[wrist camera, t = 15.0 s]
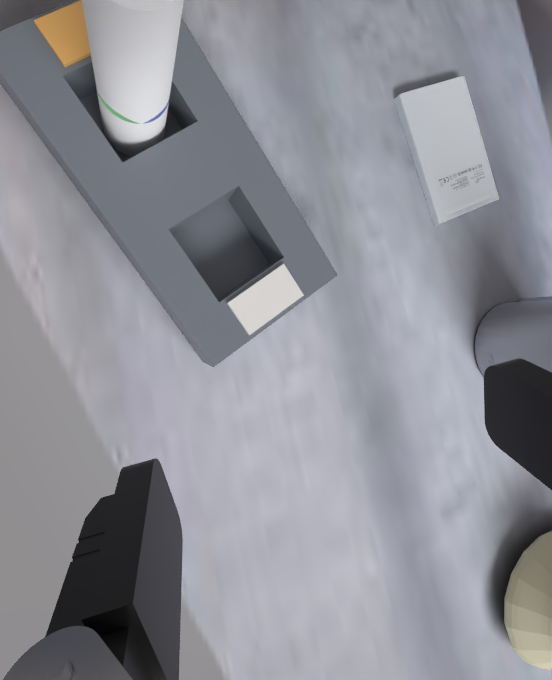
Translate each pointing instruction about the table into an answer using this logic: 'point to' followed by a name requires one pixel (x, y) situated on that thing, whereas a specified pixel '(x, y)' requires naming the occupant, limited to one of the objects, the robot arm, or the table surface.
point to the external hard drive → (447, 148)
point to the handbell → (531, 604)
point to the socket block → (172, 186)
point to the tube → (133, 67)
